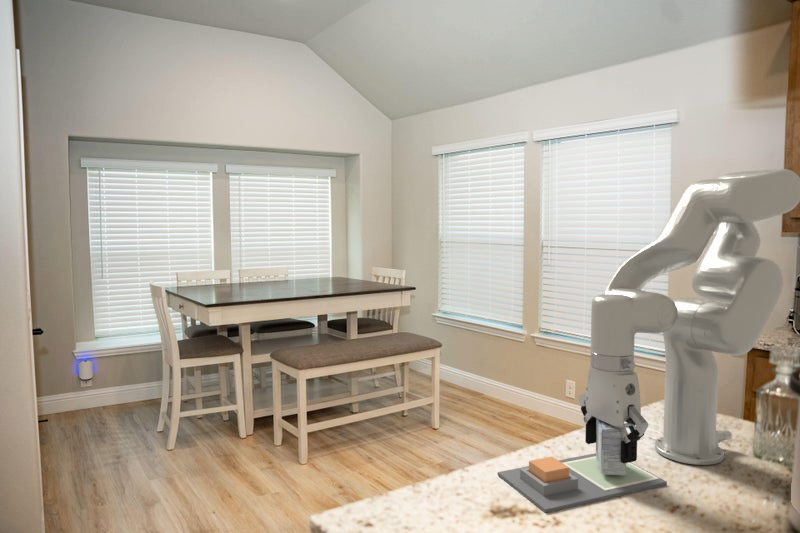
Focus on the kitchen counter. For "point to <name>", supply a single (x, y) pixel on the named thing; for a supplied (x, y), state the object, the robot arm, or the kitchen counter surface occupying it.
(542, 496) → the activity board
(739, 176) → the robot arm
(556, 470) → the button
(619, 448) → the medicine box
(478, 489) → the kitchen counter surface
